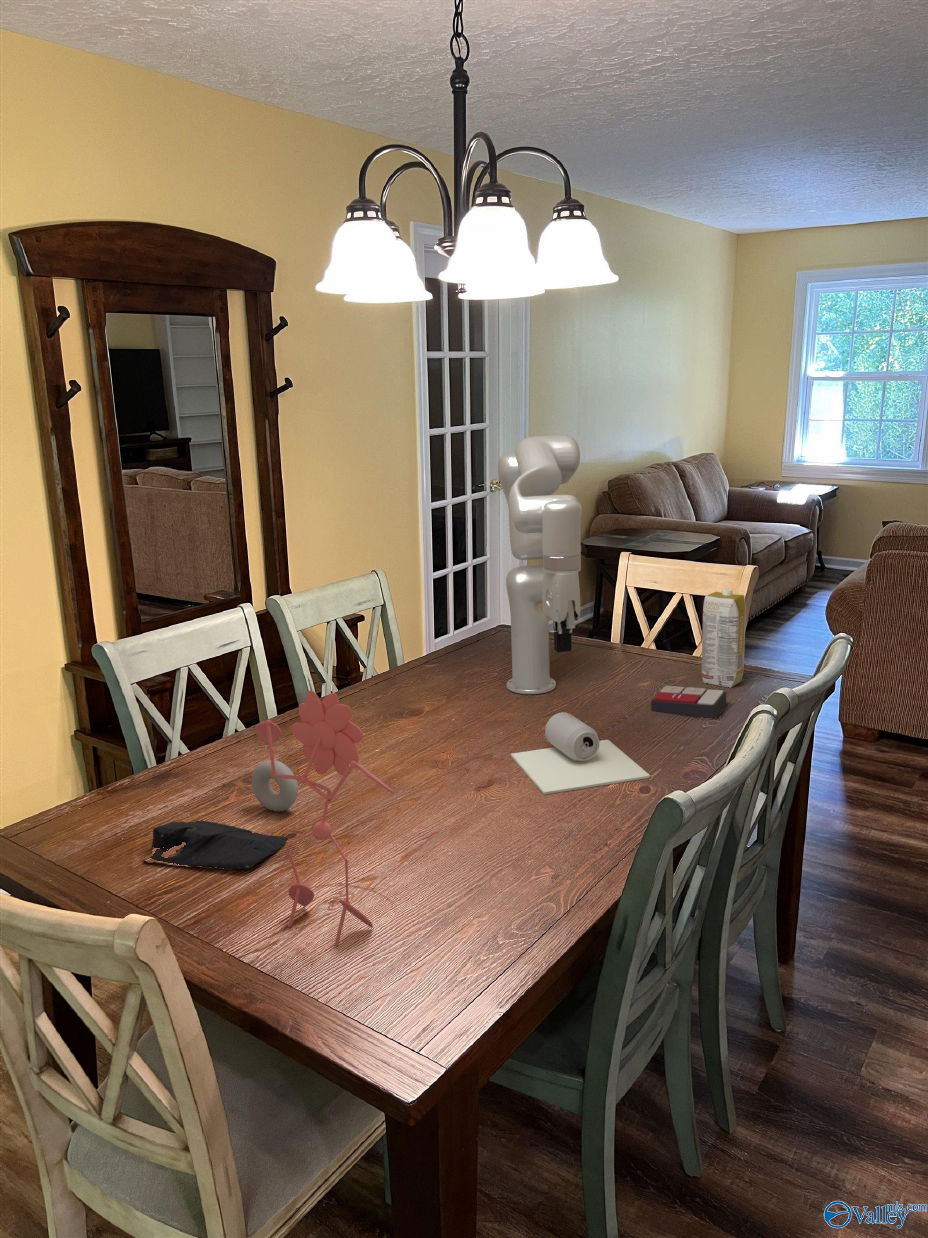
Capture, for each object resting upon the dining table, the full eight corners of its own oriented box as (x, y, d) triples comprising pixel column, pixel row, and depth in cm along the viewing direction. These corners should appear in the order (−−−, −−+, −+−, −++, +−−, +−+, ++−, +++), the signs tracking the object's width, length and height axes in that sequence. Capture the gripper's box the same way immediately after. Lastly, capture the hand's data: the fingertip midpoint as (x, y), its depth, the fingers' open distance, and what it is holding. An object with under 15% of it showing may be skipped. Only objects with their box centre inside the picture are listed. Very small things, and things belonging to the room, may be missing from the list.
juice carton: (746, 681, 232) (749, 589, 226) (732, 690, 226) (735, 595, 220) (711, 675, 238) (714, 585, 232) (697, 683, 232) (700, 591, 226)
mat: (510, 756, 191) (510, 753, 191) (607, 741, 197) (607, 739, 197) (543, 794, 173) (543, 792, 172) (650, 777, 178) (650, 775, 178)
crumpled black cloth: (245, 885, 146) (242, 858, 145) (135, 865, 154) (131, 839, 153) (295, 841, 160) (293, 816, 159) (191, 824, 168) (188, 800, 166)
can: (580, 723, 196) (609, 742, 185) (559, 751, 196) (587, 771, 185) (558, 704, 193) (586, 722, 182) (536, 732, 192) (563, 751, 182)
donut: (304, 811, 170) (299, 761, 167) (292, 819, 167) (288, 768, 165) (262, 802, 174) (257, 753, 172) (250, 809, 172) (244, 760, 169)
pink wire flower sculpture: (378, 968, 123) (364, 721, 115) (245, 914, 137) (224, 691, 129) (444, 915, 135) (435, 689, 127) (315, 871, 149) (300, 665, 141)
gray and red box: (663, 684, 222) (726, 688, 215) (664, 700, 223) (726, 705, 216) (650, 697, 213) (715, 702, 206) (651, 715, 214) (715, 720, 207)
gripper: (531, 558, 188) (533, 643, 193) (557, 571, 174) (558, 663, 179) (565, 554, 190) (566, 639, 195) (594, 568, 176) (594, 658, 181)
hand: (562, 650), depth 187 cm, fingers closed
